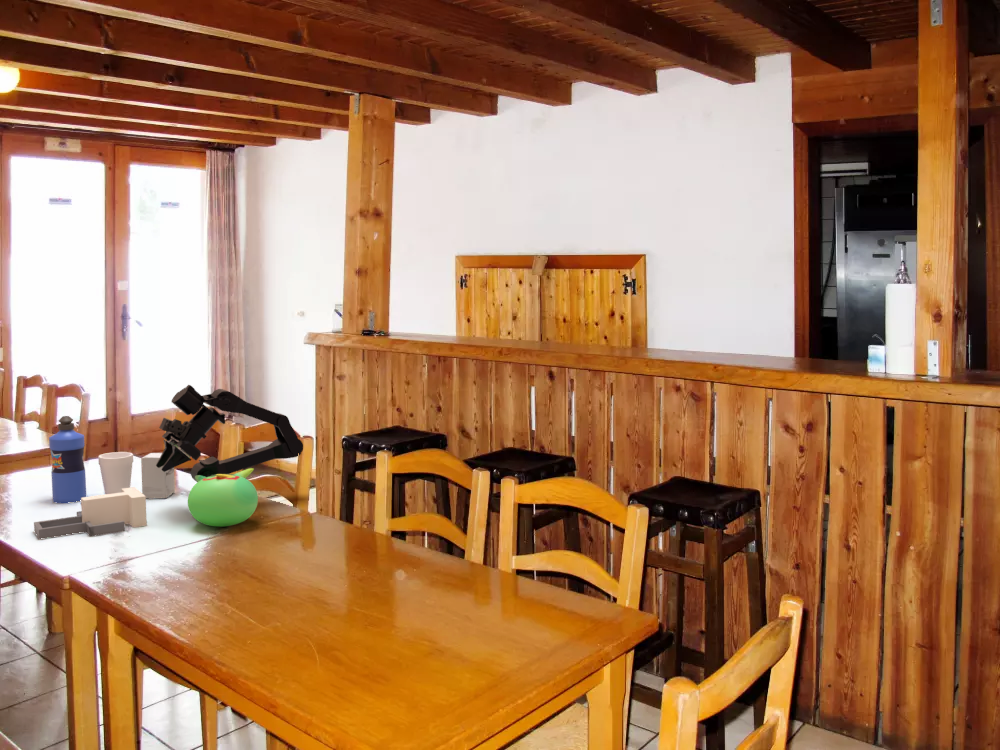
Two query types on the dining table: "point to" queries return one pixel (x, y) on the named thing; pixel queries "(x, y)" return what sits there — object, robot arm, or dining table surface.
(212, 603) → the dining table surface
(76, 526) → the t outline
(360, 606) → the dining table surface
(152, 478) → the supplement box
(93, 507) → the t block
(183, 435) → the robot arm
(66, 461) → the water bottle
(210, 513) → the green rounded blob
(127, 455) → the foam cup
